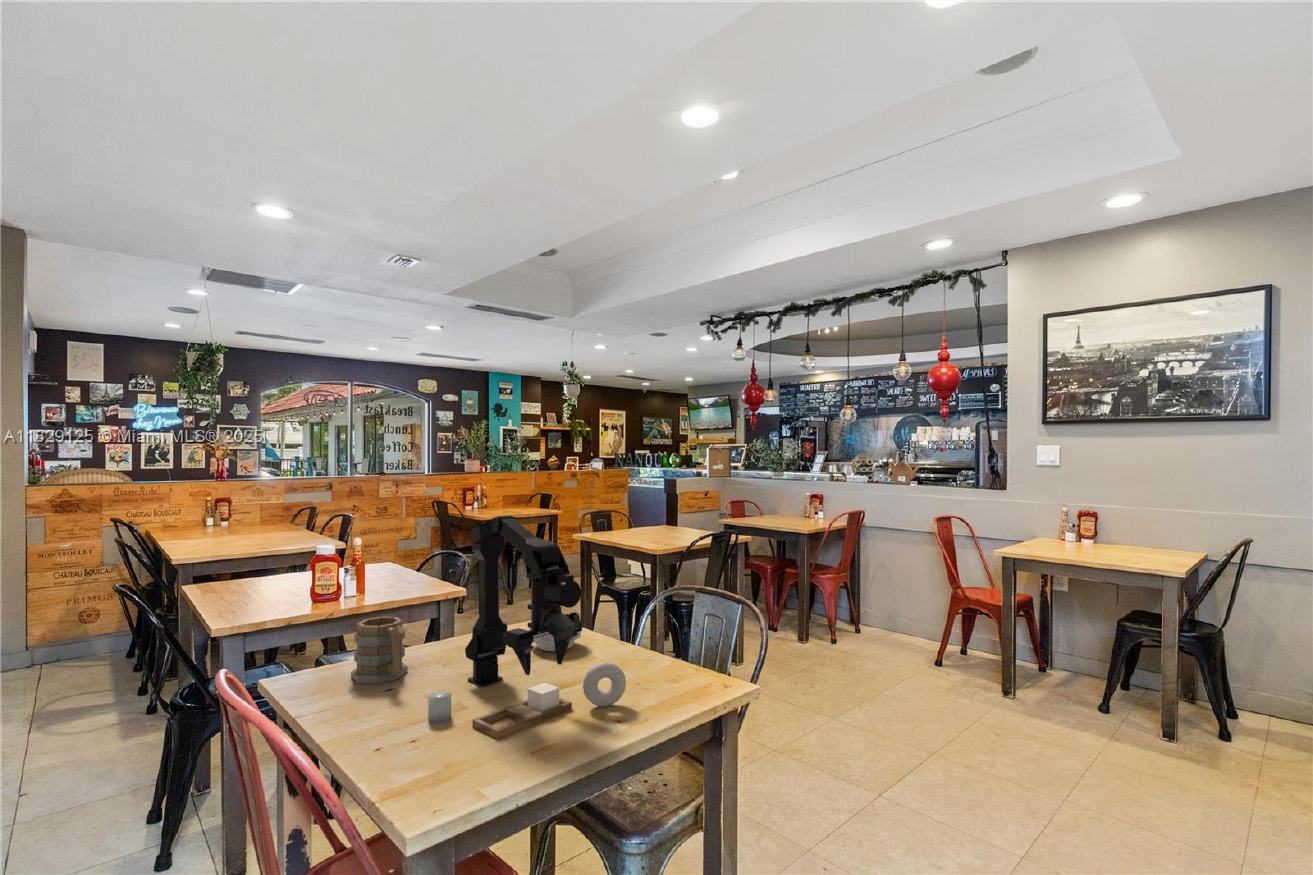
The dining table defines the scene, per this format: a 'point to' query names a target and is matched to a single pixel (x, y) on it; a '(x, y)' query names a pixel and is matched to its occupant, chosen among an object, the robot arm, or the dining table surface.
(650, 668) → the dining table surface
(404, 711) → the dining table surface
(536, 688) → the white rounded cube
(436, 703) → the salt cellar
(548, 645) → the paper bowls
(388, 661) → the tankard
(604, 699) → the donut
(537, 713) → the walnut caddy
